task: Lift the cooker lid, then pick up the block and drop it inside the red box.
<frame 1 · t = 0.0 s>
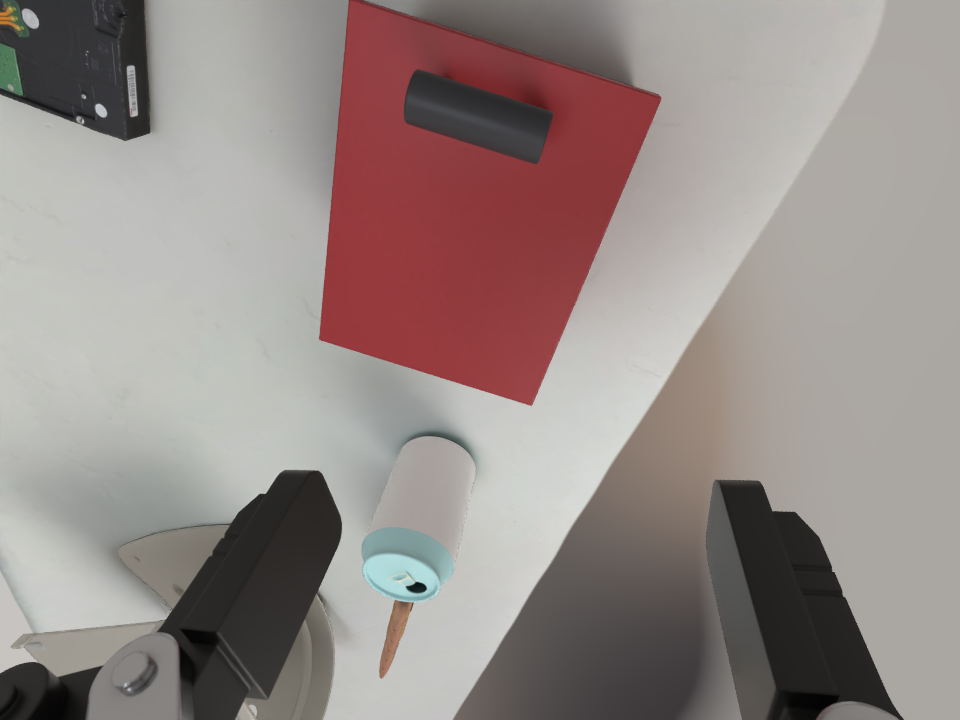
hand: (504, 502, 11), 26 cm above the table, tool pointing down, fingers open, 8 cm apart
laptop stand: (232, 586, 67), on the table
cooker lid: (450, 256, 23), point 11 cm above the table, hinge at 0.0°
disk drive: (34, 3, 31), on the table
can: (439, 458, 47), on the table
ammunition clip: (423, 535, 54), on the table
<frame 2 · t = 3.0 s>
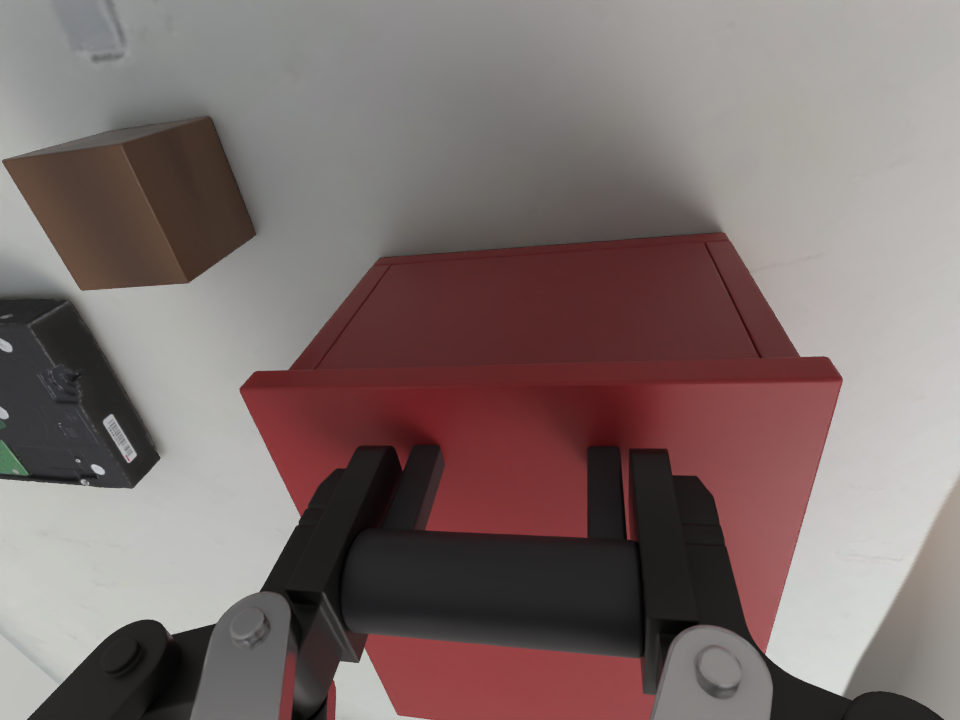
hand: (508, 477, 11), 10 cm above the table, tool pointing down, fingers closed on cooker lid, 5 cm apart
red box: (553, 411, 23), on the table
cooker lid: (531, 671, 14), point 11 cm above the table, hinge at 0.0°, touching gripper
block: (185, 185, 20), on the table
disk drive: (12, 377, 28), on the table
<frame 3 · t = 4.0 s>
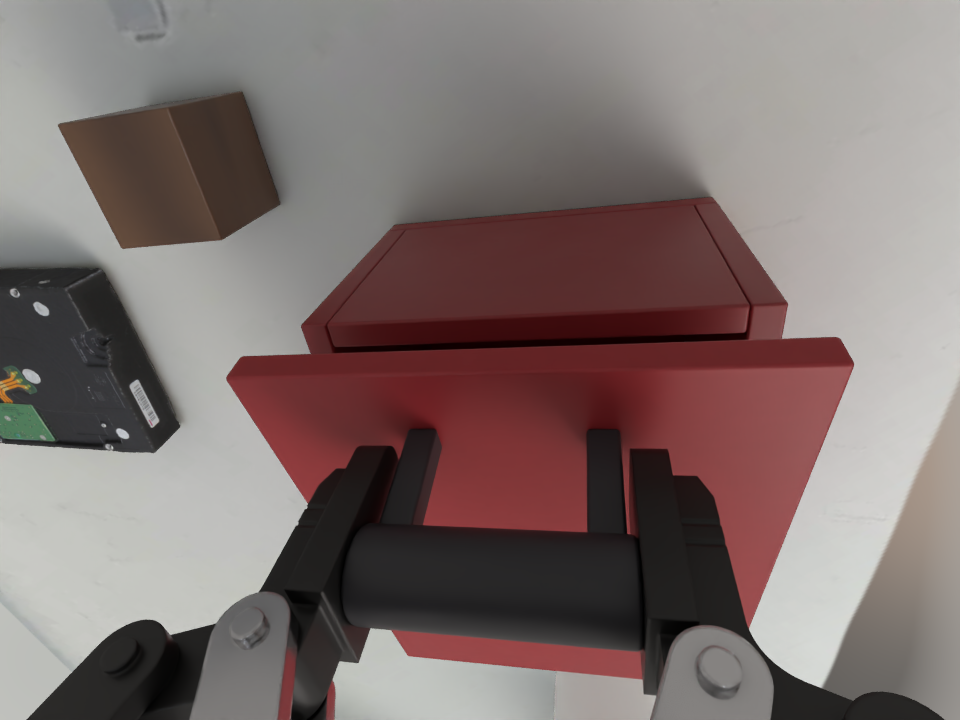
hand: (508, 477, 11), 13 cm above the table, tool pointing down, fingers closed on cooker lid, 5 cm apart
red box: (555, 374, 25), on the table
cooker lid: (533, 631, 14), point 13 cm above the table, hinge at 9.0°, touching gripper
block: (216, 156, 22), on the table
disk drive: (41, 347, 30), on the table
can: (606, 657, 37), on the table
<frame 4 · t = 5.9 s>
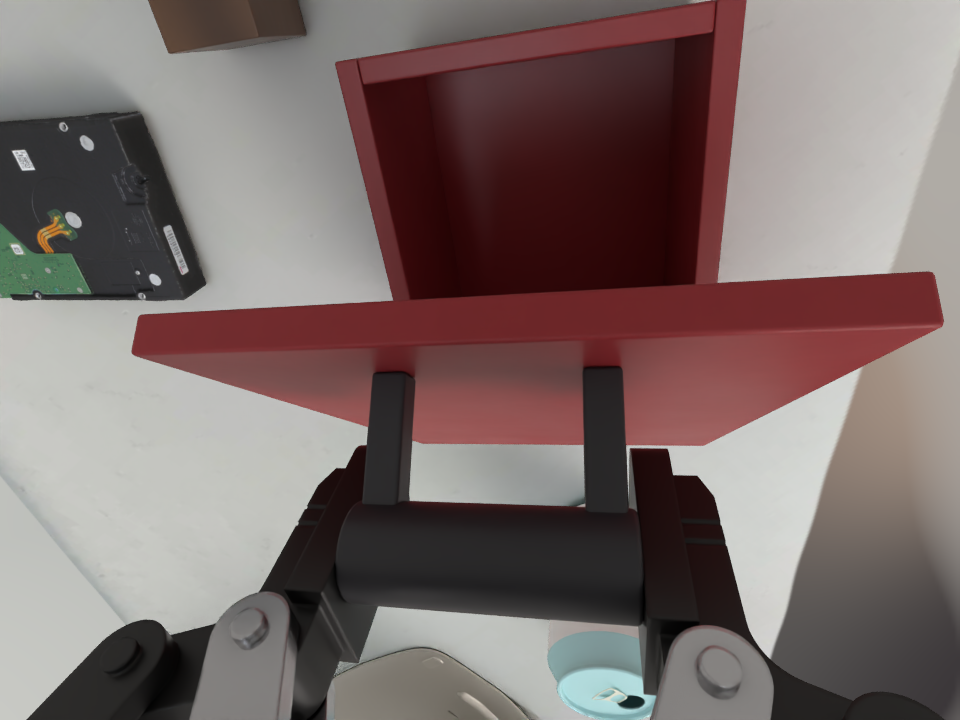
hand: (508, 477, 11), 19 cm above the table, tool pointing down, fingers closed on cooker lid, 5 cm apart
red box: (554, 204, 27), on the table
laptop stand: (428, 713, 61), on the table
cooker lid: (533, 476, 15), point 16 cm above the table, hinge at 43.5°, touching gripper
disk drive: (79, 206, 32), on the table
can: (602, 525, 40), on the table
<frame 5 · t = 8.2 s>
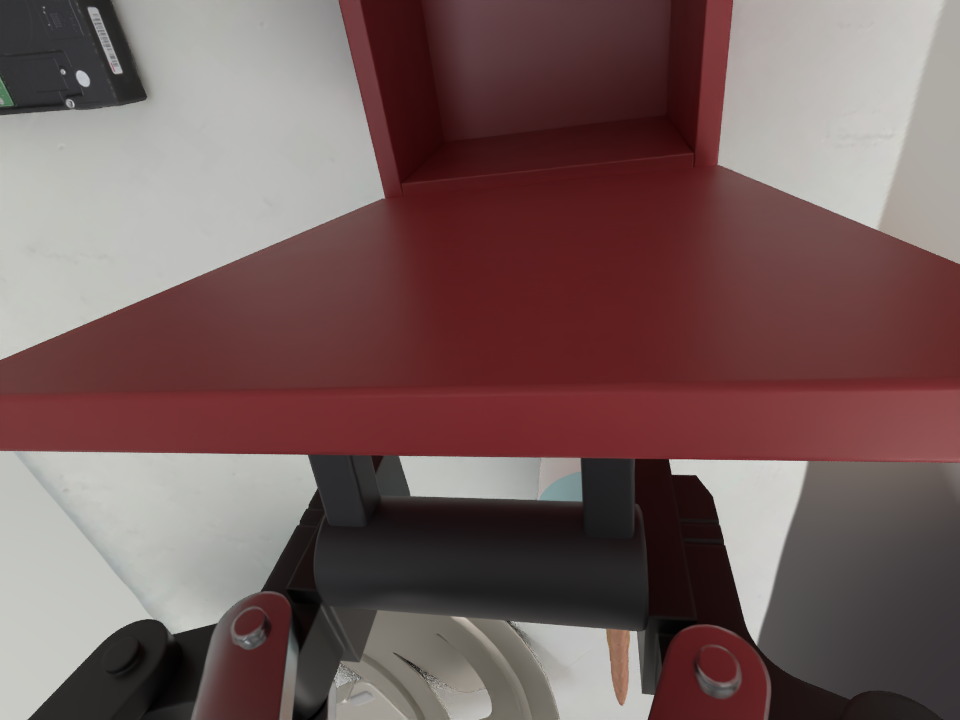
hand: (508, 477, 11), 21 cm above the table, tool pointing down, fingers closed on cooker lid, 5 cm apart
laptop stand: (416, 639, 58), on the table
cooker lid: (518, 324, 13), point 18 cm above the table, hinge at 81.6°, touching gripper
can: (599, 397, 36), on the table
ammunition clip: (612, 512, 42), on the table
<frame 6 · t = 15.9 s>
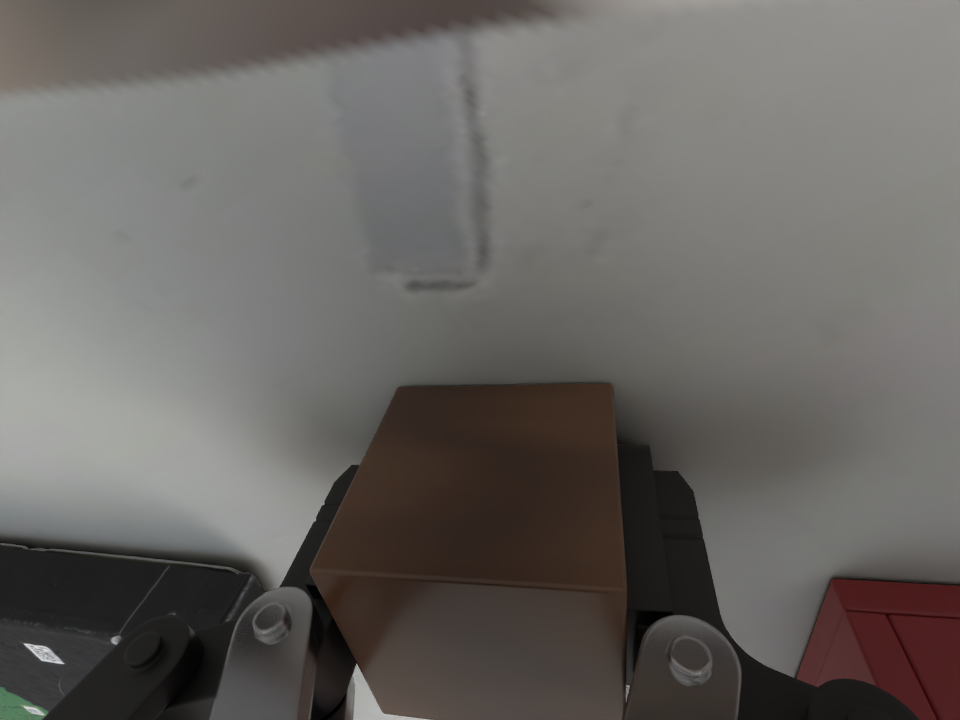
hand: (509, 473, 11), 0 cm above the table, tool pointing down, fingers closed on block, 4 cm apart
block: (512, 462, 12), on the table, touching gripper
disk drive: (131, 621, 20), on the table
when the fingers open (11 cm above the table, at t = 21.1 s): block drops 10 cm, resting on red box.
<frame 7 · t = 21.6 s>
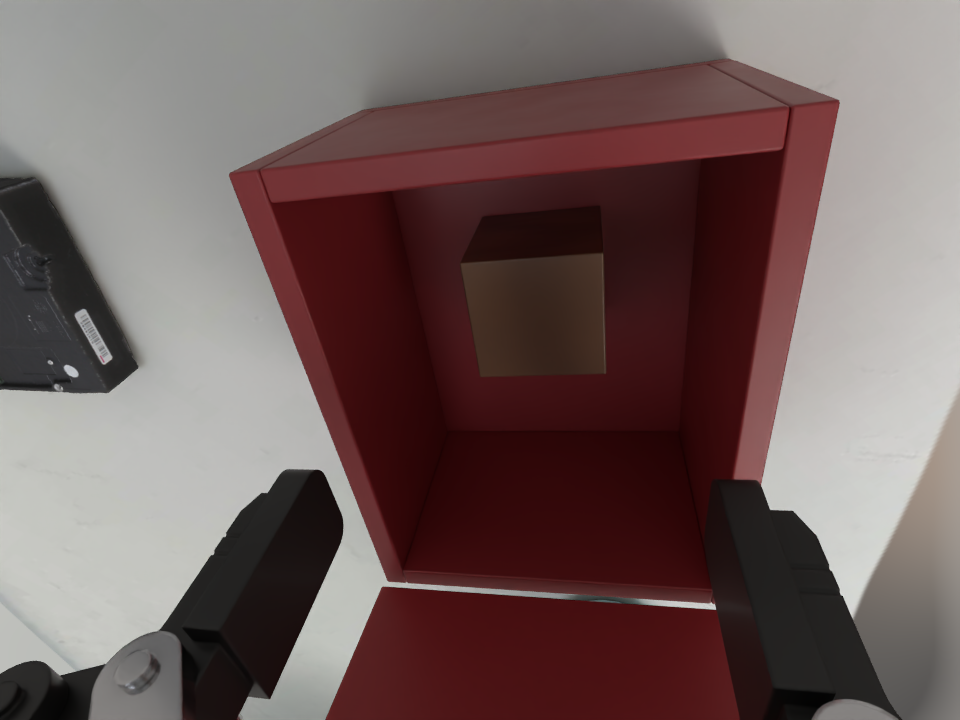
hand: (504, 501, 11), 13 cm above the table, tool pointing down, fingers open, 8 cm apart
red box: (548, 291, 22), on the table
block: (544, 265, 21), point 1 cm above the table, touching red box
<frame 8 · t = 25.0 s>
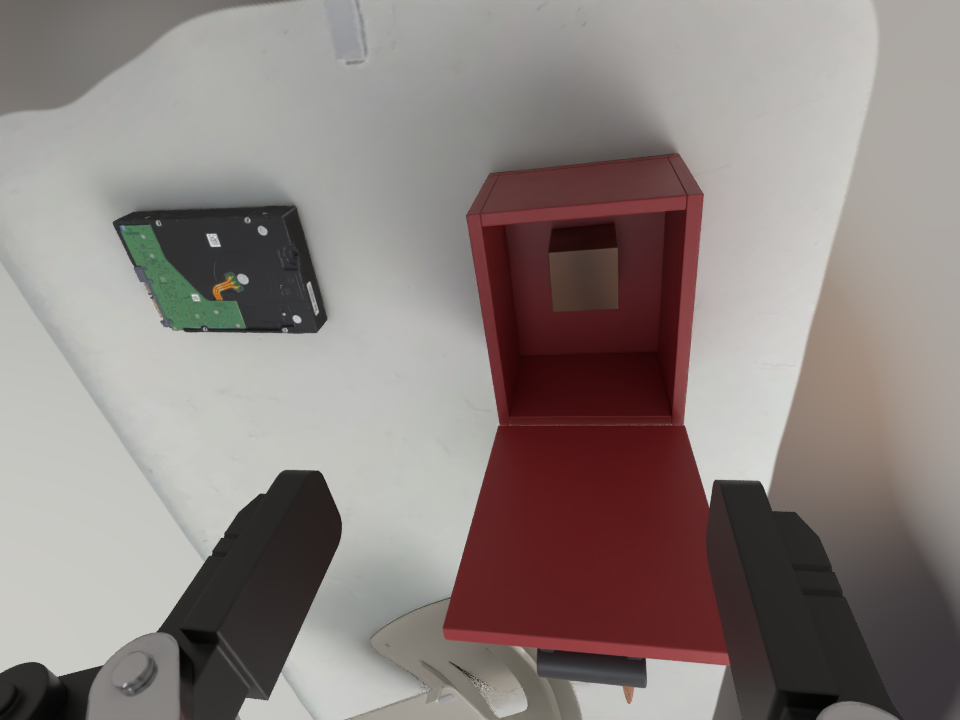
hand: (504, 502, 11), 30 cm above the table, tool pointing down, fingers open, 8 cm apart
red box: (584, 270, 40), on the table
laptop stand: (468, 651, 75), on the table
cooker lid: (589, 540, 30), point 18 cm above the table, hinge at 82.0°
block: (583, 255, 38), point 1 cm above the table, touching red box
disk drive: (236, 265, 45), on the table
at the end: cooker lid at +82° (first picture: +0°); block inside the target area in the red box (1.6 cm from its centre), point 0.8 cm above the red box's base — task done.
